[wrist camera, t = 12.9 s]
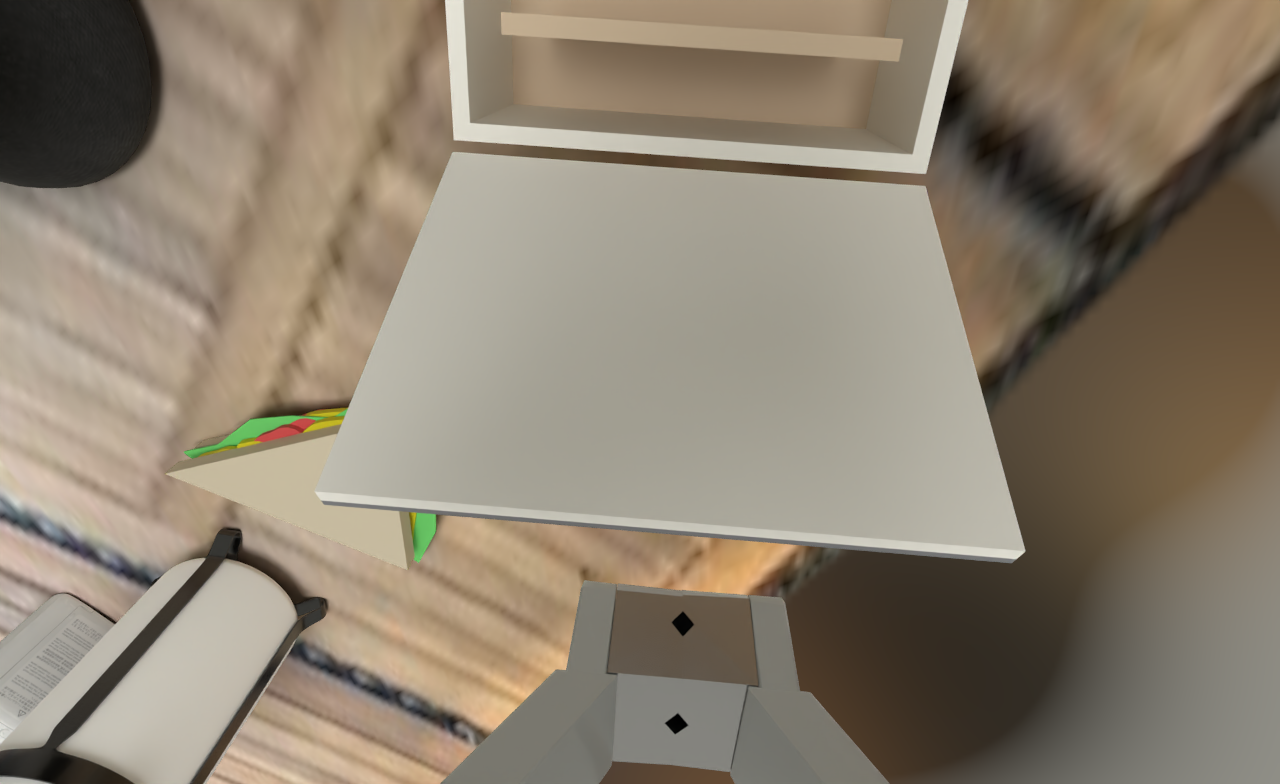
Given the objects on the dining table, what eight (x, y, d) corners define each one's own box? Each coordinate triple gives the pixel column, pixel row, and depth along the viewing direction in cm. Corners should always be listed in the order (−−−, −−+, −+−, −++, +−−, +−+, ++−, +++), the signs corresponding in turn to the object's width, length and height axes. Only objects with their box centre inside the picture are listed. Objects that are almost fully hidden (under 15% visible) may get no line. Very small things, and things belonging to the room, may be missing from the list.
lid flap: (314, 491, 22) (323, 504, 22) (1025, 551, 21) (1011, 563, 22) (452, 151, 32) (456, 168, 33) (925, 186, 32) (918, 202, 33)
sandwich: (202, 314, 49) (154, 342, 45) (471, 394, 51) (451, 429, 46) (201, 482, 56) (159, 521, 52) (437, 547, 58) (416, 590, 53)
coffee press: (135, 506, 57) (-342, 920, 31) (329, 545, 58) (27, 982, 31) (159, 650, 65) (-202, 1078, 39) (329, 683, 66) (89, 1124, 39)
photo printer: (40, 605, 63) (-95, 725, 52) (63, 584, 62) (-71, 703, 51) (139, 669, 67) (31, 795, 56) (162, 650, 65) (57, 775, 54)
